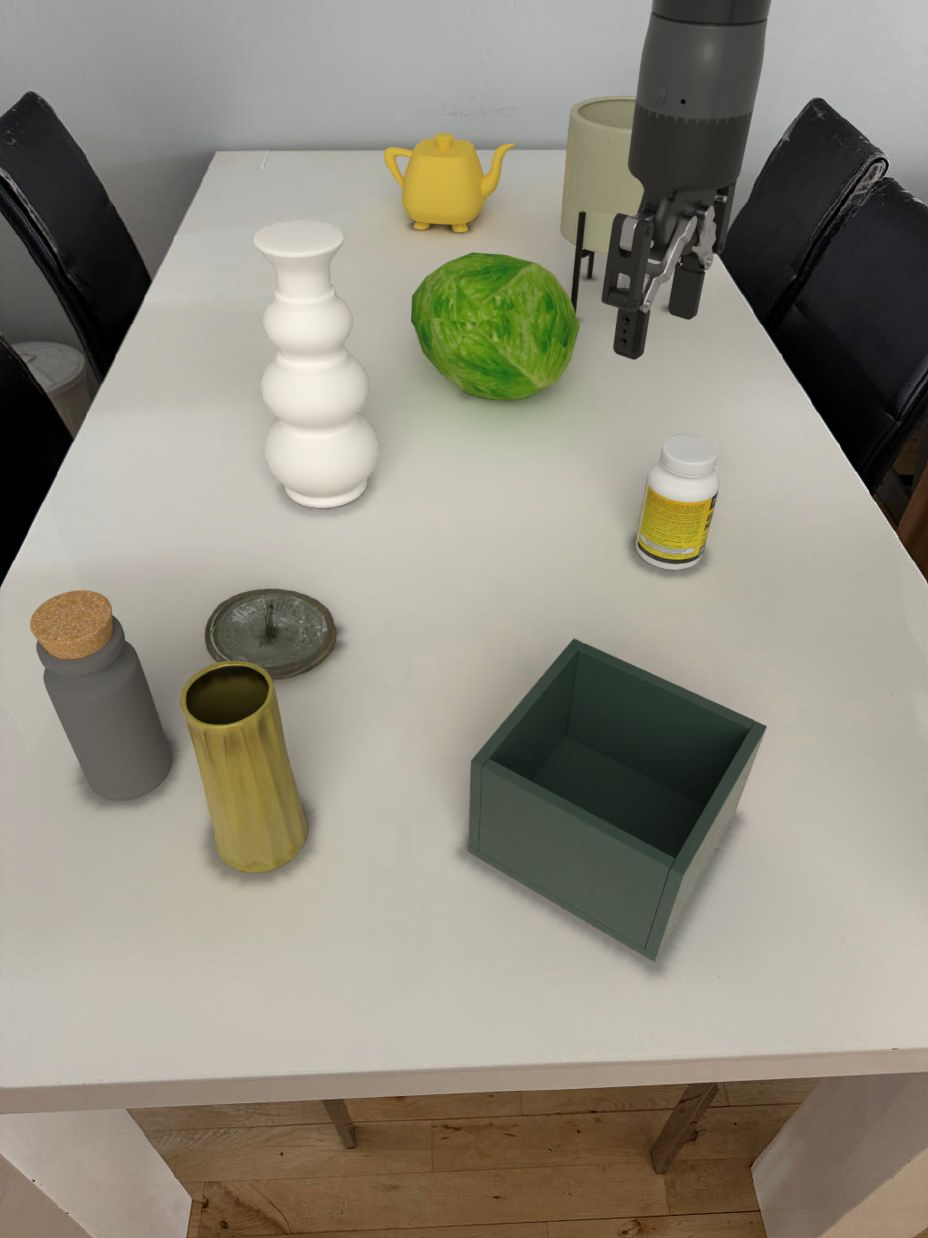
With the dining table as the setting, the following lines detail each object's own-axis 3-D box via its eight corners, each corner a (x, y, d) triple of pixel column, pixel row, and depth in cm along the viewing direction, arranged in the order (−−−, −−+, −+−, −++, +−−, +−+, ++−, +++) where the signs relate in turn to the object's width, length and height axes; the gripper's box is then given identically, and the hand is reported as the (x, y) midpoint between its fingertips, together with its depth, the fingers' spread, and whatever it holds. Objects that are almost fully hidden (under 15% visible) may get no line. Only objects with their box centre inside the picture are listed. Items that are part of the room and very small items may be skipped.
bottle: (74, 763, 65) (4, 610, 55) (149, 723, 68) (96, 570, 58) (109, 816, 62) (41, 664, 52) (186, 772, 65) (137, 619, 55)
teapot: (507, 241, 138) (511, 152, 129) (377, 232, 140) (373, 144, 131) (516, 210, 147) (520, 125, 139) (395, 201, 149) (392, 118, 141)
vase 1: (326, 824, 62) (303, 682, 52) (263, 891, 58) (226, 751, 48) (260, 782, 64) (226, 639, 55) (196, 844, 61) (147, 702, 51)
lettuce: (611, 372, 108) (563, 236, 106) (576, 364, 89) (516, 199, 88) (484, 427, 114) (436, 299, 113) (426, 430, 96) (368, 277, 94)
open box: (733, 817, 63) (767, 725, 56) (654, 962, 55) (683, 876, 48) (561, 731, 68) (573, 637, 61) (467, 852, 60) (470, 760, 54)
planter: (666, 334, 116) (701, 136, 100) (544, 318, 119) (558, 124, 103) (678, 286, 126) (710, 100, 111) (565, 272, 129) (581, 90, 114)
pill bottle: (709, 572, 82) (736, 468, 74) (641, 573, 81) (661, 470, 74) (693, 529, 86) (717, 427, 79) (629, 531, 86) (646, 429, 78)
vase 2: (396, 467, 93) (385, 216, 76) (358, 530, 86) (337, 266, 68) (297, 450, 95) (264, 202, 78) (252, 510, 88) (204, 249, 70)
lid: (196, 647, 76) (172, 613, 72) (289, 576, 79) (271, 539, 75) (267, 723, 71) (245, 691, 67) (364, 643, 74) (349, 608, 70)
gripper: (697, 133, 53) (653, 386, 64) (794, 85, 61) (741, 316, 72) (586, 110, 56) (563, 354, 67) (693, 67, 64) (657, 291, 75)
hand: (655, 334), depth 70 cm, fingers open, 8 cm apart
